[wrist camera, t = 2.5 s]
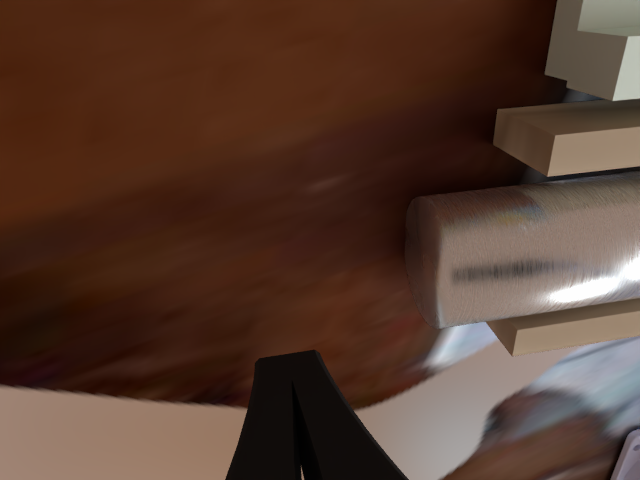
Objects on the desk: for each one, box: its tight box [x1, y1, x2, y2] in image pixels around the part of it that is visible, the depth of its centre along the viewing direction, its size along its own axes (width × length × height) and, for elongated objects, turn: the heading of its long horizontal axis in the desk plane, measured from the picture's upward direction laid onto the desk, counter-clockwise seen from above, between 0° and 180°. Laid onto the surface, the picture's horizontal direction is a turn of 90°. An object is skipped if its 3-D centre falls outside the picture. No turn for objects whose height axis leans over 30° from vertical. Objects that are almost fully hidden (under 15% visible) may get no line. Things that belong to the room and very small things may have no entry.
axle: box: [404, 171, 640, 329], centre depth 16 cm, size 14×4×4 cm, turn 93°
